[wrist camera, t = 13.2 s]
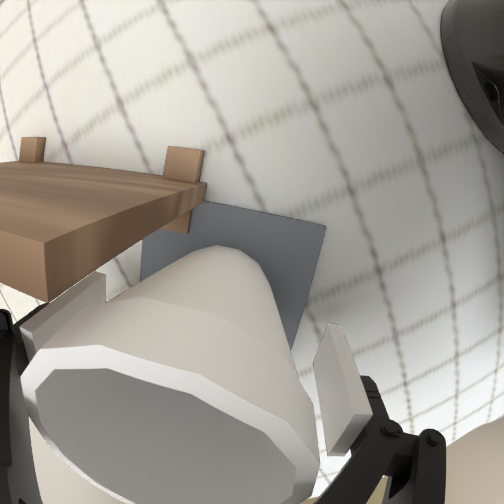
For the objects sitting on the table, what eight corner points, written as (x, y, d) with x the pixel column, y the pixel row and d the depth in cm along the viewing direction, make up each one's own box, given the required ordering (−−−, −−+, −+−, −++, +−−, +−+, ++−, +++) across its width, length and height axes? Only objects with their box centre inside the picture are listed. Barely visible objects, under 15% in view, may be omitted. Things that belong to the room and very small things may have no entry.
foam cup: (316, 323, 19) (353, 503, 7) (199, 368, 21) (148, 522, 8) (250, 192, 17) (188, 274, 5) (127, 259, 19) (-13, 375, 6)
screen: (26, 137, 17) (-119, 151, 4) (212, 152, 17) (50, 131, 4) (21, 197, 19) (-116, 243, 5) (198, 231, 19) (61, 376, 5)
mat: (151, 191, 18) (147, 192, 17) (324, 225, 18) (326, 227, 17) (141, 336, 21) (138, 340, 21) (283, 368, 21) (283, 373, 21)
